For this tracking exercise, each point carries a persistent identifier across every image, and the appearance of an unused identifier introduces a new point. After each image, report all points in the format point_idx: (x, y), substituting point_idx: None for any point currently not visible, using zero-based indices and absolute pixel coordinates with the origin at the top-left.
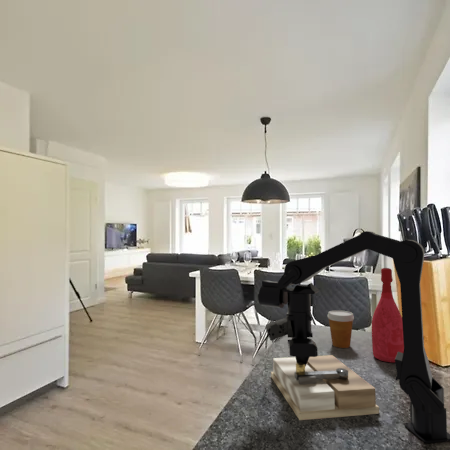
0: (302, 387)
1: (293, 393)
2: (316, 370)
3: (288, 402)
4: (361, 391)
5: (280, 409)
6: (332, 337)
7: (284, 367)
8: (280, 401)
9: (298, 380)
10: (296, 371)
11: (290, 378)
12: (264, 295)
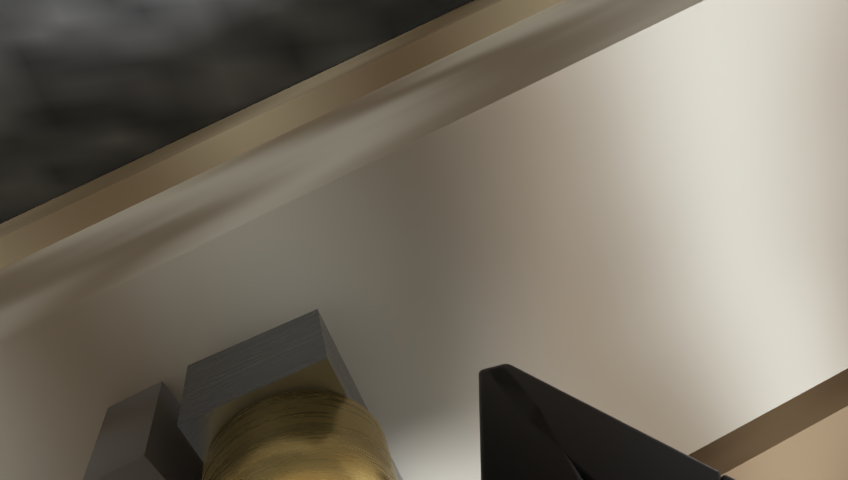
0: (2, 464)
1: (100, 249)
2: None
3: (226, 119)
4: None
5: (30, 37)
6: None
7: (767, 53)
8: (244, 14)
9: None
10: (244, 442)
11: (313, 224)
12: None
